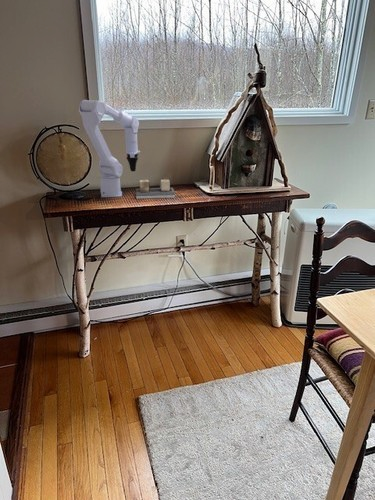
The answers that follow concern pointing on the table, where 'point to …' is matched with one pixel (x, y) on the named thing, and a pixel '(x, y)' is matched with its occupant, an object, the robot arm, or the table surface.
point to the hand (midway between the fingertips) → (133, 169)
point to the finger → (144, 186)
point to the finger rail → (157, 191)
